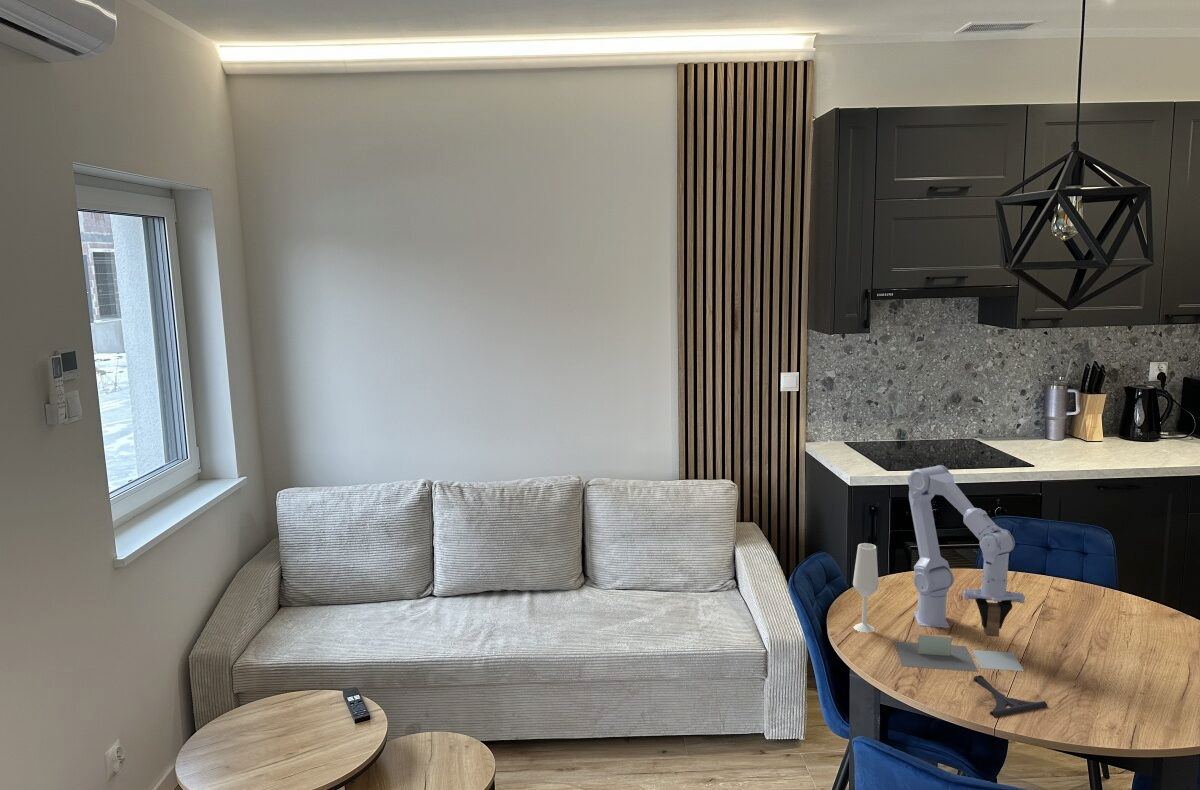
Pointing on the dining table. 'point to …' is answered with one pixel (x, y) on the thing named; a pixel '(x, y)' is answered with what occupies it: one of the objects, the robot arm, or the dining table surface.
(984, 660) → the rest pad
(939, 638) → the tile
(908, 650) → the slate mat
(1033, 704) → the bracket
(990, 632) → the walnut stick
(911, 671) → the dining table surface
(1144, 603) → the dining table surface
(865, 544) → the champagne flute
